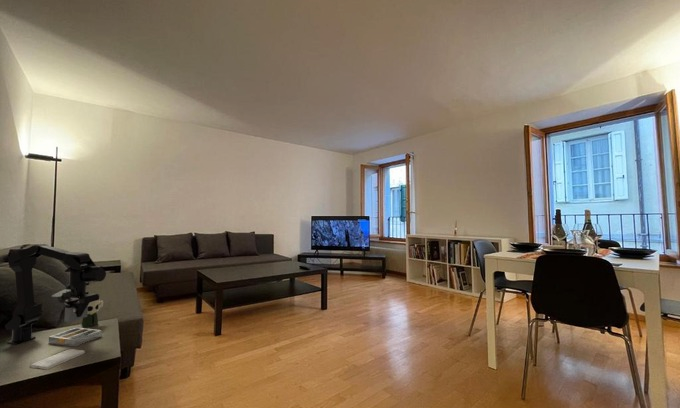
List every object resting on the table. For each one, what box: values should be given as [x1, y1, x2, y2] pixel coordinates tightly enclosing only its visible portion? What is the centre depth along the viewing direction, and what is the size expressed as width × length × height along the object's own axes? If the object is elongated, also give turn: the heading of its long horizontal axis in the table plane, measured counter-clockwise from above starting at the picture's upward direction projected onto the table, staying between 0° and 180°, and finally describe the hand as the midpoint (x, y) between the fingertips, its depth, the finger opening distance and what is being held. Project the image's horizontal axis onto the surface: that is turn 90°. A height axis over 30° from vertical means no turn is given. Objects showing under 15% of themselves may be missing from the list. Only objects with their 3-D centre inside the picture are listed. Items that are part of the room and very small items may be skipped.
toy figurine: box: [81, 298, 104, 328], centre depth 141 cm, size 11×7×13 cm, turn 156°
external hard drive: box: [29, 348, 85, 370], centre depth 107 cm, size 2×8×12 cm
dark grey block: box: [64, 305, 88, 323], centre depth 125 cm, size 3×7×6 cm, turn 167°
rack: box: [48, 327, 102, 348], centre depth 124 cm, size 15×11×3 cm
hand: (76, 316), depth 125 cm, fingers closed on dark grey block, 3 cm apart
